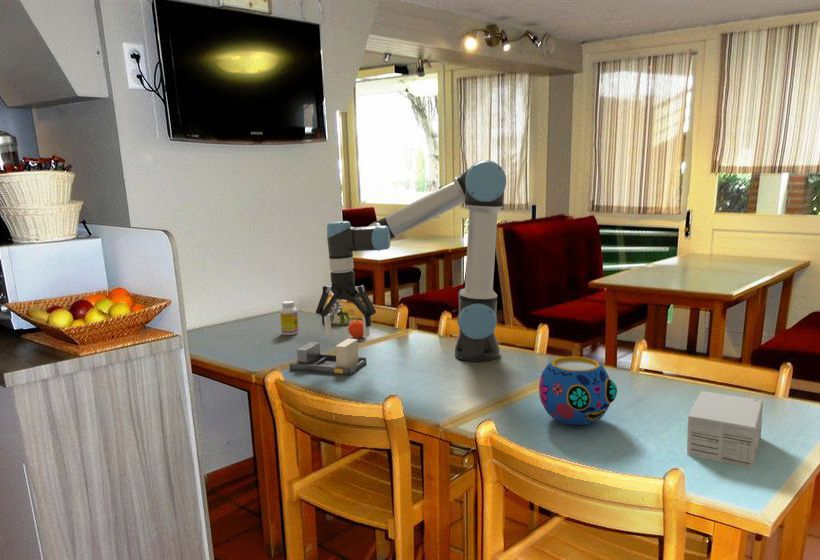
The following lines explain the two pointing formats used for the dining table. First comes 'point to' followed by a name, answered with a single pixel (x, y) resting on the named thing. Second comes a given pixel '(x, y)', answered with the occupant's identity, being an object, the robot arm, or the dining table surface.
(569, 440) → the dining table surface
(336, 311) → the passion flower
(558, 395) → the ceramic pot
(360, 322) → the clementine
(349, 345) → the cream rectangular block
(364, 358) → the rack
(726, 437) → the supplement box
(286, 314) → the supplement bottle
